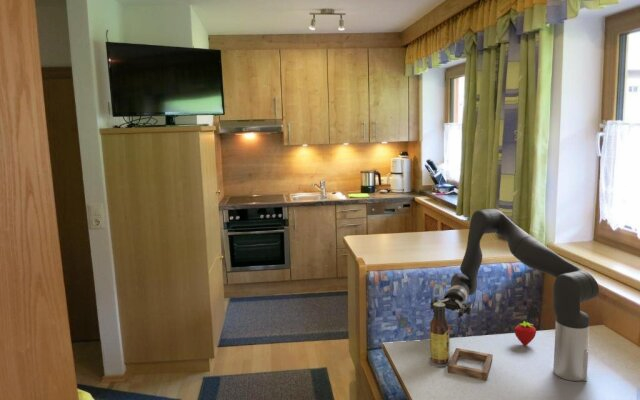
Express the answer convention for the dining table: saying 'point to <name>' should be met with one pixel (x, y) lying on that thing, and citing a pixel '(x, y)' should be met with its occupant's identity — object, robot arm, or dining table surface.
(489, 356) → the pocket frame
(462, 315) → the robot arm
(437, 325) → the sauce bottle
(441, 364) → the coaster
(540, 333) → the dining table surface
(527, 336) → the strawberry
